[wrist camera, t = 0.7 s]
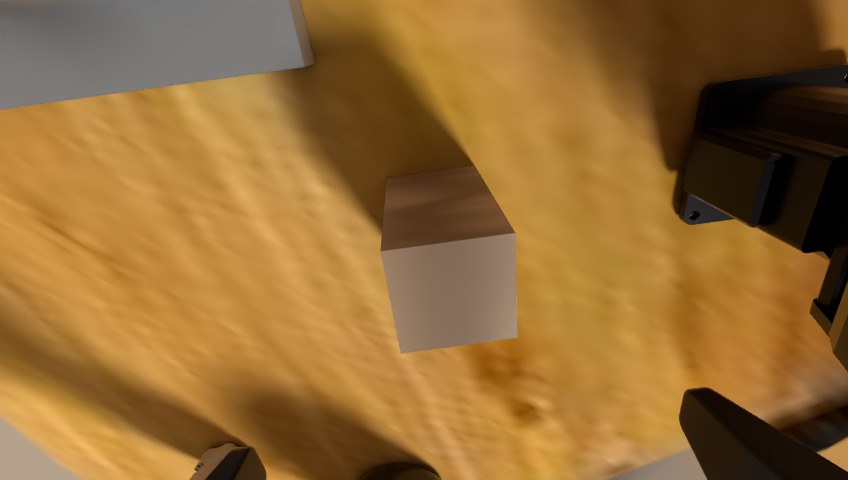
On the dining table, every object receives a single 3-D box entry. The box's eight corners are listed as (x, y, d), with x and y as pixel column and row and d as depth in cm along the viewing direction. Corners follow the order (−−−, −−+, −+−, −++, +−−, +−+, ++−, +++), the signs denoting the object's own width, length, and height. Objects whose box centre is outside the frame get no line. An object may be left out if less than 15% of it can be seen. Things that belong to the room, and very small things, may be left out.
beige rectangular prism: (474, 165, 18) (515, 232, 12) (479, 243, 20) (517, 337, 14) (386, 177, 18) (380, 251, 12) (399, 254, 20) (401, 353, 14)
